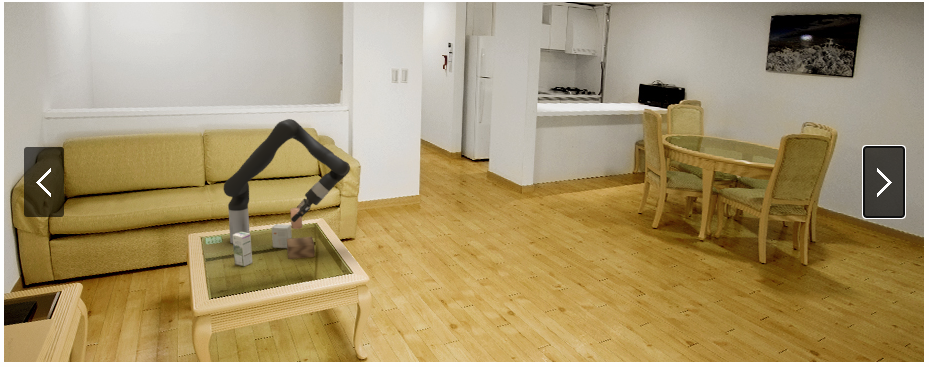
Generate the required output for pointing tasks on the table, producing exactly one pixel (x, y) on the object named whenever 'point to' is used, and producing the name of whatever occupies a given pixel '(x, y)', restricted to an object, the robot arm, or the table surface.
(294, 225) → the terracotta cylinder
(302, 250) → the walnut block
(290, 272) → the table surface
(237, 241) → the syrup box
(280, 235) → the small box
